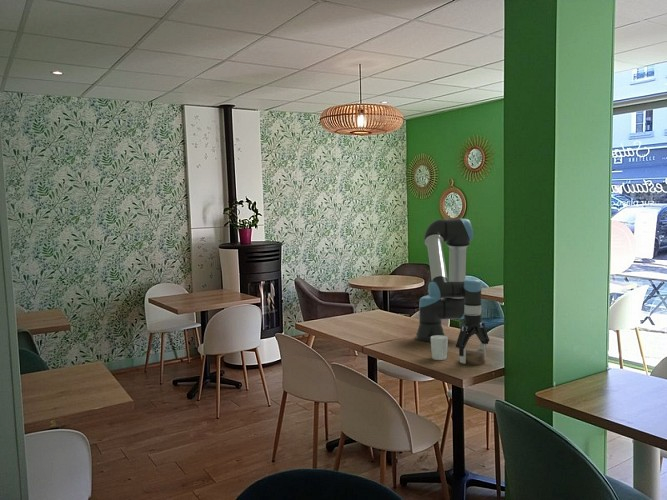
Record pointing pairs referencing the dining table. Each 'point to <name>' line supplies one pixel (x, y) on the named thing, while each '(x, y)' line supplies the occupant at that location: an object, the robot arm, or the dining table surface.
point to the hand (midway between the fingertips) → (472, 360)
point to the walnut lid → (475, 357)
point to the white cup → (439, 347)
